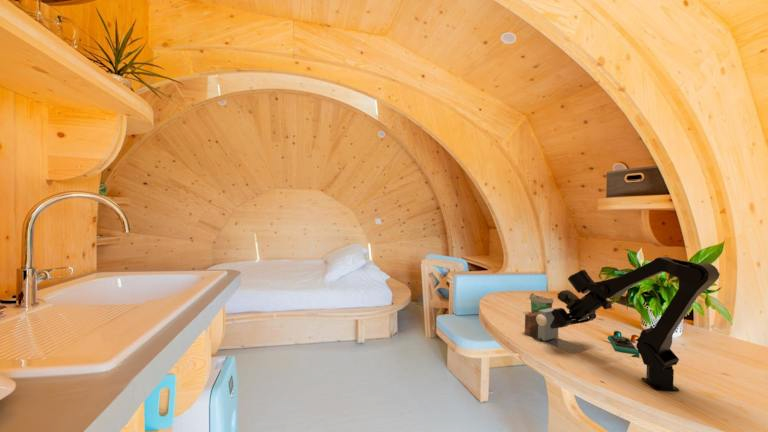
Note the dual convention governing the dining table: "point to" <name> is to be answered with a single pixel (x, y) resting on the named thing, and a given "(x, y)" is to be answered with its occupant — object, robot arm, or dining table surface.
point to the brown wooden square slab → (531, 324)
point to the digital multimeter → (623, 345)
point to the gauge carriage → (546, 325)
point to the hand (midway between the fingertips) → (558, 325)
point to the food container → (540, 303)
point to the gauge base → (560, 344)
